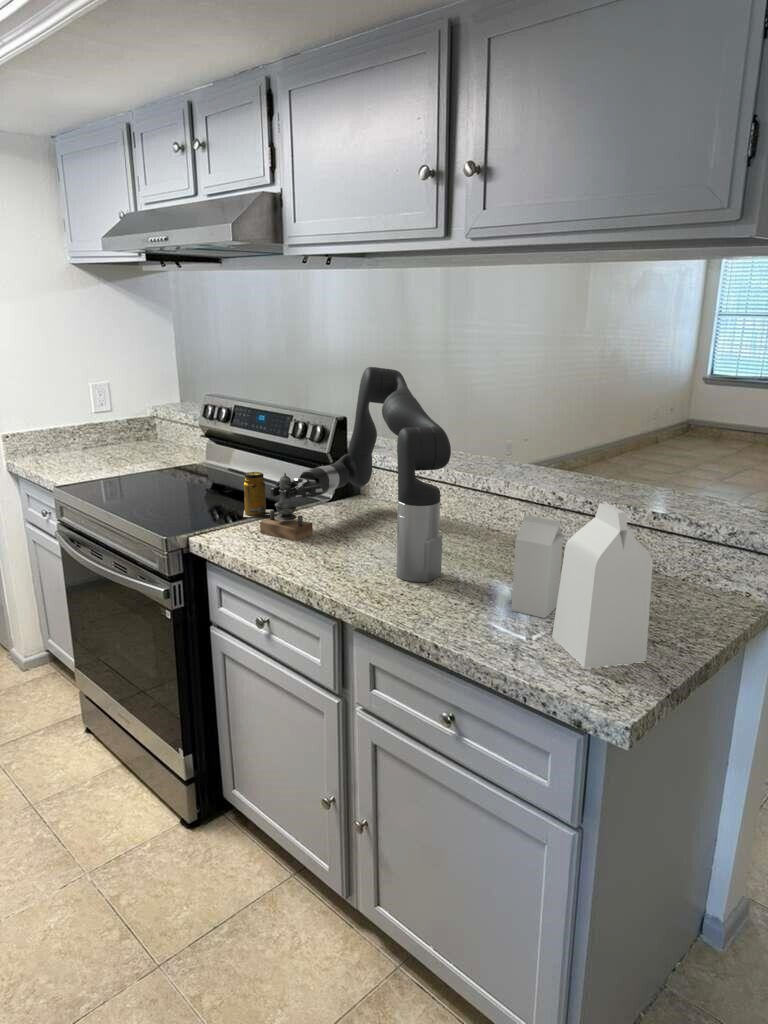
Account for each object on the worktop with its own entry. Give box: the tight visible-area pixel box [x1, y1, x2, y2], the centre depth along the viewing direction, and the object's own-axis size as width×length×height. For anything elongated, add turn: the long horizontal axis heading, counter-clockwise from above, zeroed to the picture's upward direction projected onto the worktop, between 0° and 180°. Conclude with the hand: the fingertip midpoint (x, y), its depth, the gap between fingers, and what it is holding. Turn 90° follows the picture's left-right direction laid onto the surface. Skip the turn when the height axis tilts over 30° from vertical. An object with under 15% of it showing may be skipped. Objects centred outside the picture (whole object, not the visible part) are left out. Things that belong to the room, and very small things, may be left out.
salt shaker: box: [274, 472, 298, 520], centre depth 187 cm, size 6×6×12 cm
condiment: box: [243, 471, 271, 518], centre depth 206 cm, size 7×8×12 cm
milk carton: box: [510, 514, 564, 619], centre depth 141 cm, size 7×7×19 cm
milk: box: [551, 502, 653, 668], centre depth 123 cm, size 12×12×26 cm
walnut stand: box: [259, 509, 313, 542], centre depth 189 cm, size 12×7×6 cm, turn 57°
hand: (278, 493), depth 184 cm, fingers closed on salt shaker, 3 cm apart
